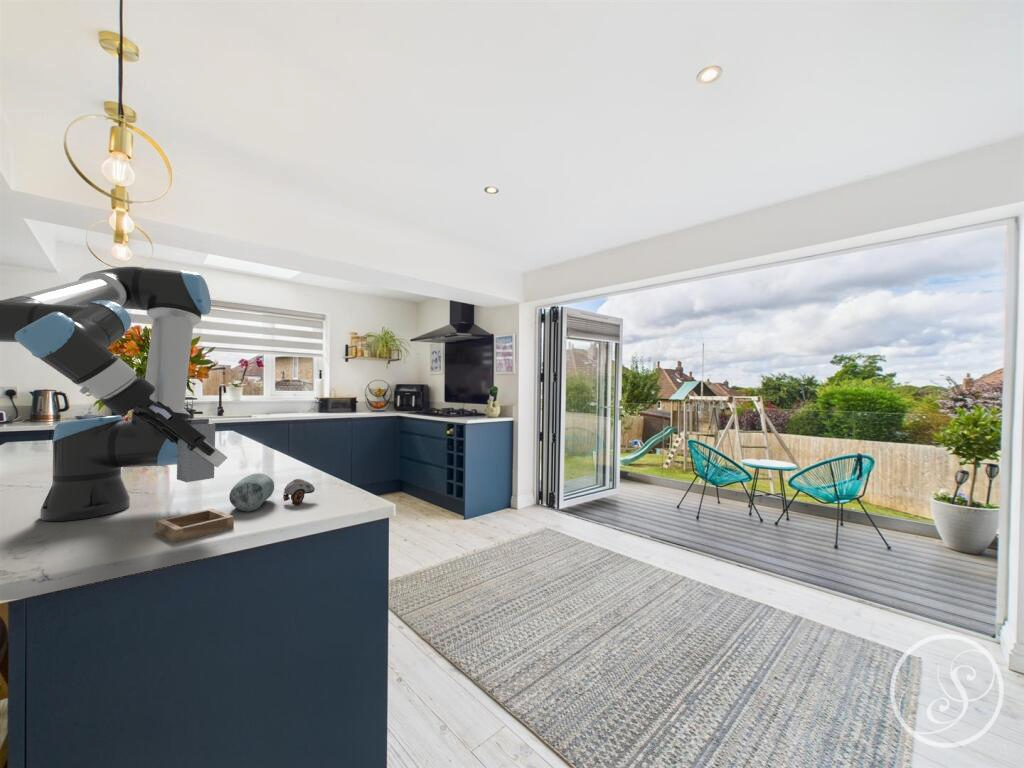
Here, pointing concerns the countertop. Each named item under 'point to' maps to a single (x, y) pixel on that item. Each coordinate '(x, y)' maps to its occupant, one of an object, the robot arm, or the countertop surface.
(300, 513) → the countertop surface
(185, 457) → the grey upright rectangular pillar
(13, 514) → the countertop surface
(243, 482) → the mottled river stone
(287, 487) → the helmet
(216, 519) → the tray
